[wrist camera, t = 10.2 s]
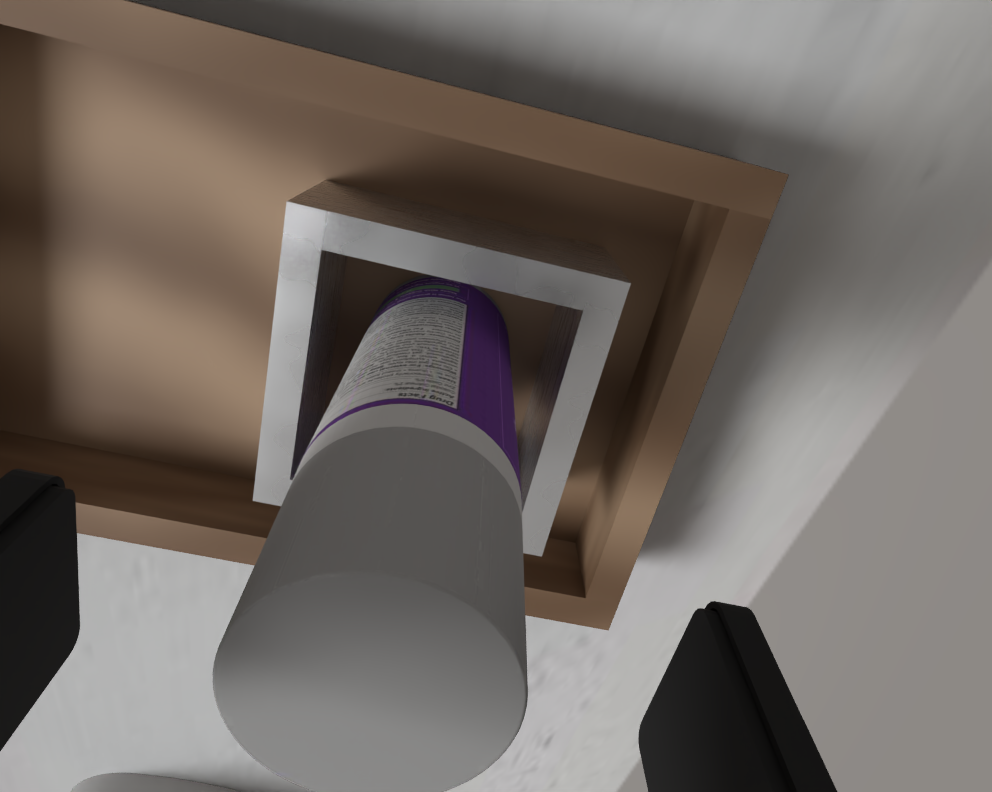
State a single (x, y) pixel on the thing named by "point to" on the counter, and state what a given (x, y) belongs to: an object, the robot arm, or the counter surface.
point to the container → (393, 567)
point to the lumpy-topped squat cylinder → (142, 784)
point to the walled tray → (256, 257)
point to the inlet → (455, 256)
